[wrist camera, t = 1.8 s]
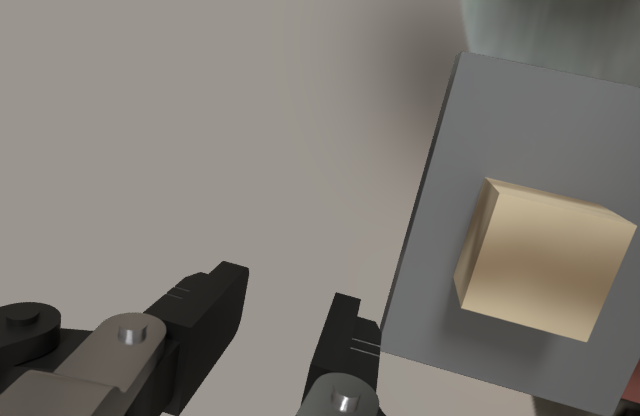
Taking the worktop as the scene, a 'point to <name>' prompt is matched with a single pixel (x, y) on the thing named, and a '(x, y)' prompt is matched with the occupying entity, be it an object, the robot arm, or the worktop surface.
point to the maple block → (540, 258)
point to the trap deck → (533, 172)
